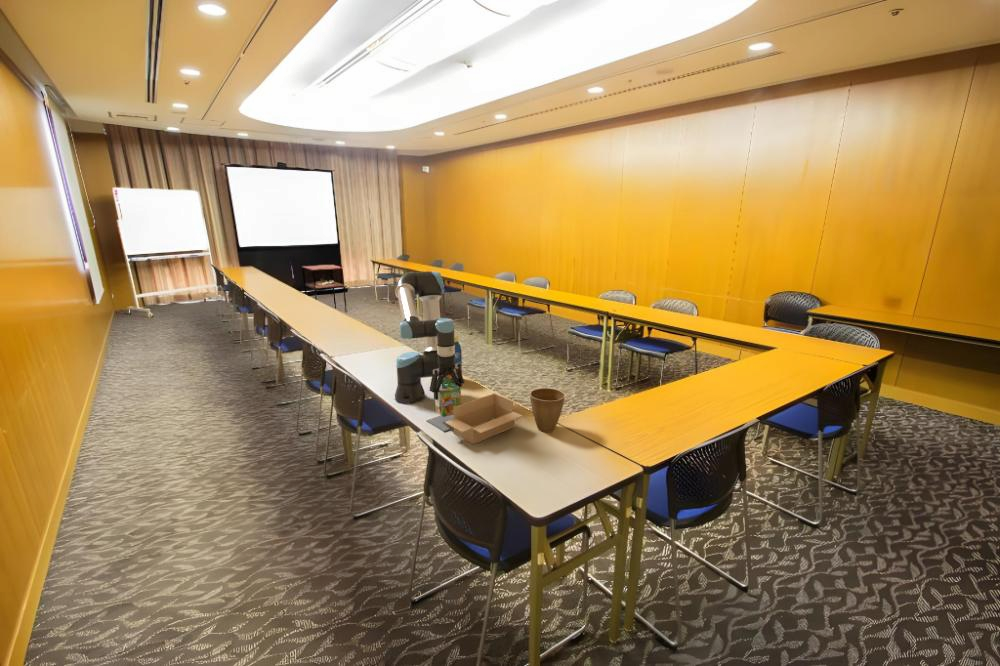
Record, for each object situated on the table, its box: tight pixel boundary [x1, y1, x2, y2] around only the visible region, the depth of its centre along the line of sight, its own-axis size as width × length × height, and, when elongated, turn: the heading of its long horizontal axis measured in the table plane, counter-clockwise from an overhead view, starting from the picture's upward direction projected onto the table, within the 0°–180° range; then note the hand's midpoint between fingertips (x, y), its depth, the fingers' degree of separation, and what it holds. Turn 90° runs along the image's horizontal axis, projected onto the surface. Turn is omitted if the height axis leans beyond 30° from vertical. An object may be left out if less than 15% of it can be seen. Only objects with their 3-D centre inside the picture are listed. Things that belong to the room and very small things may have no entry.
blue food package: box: [443, 336, 463, 384], centre depth 244 cm, size 6×12×25 cm, turn 134°
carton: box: [445, 392, 523, 445], centre depth 184 cm, size 18×28×12 cm, turn 132°
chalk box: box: [434, 379, 462, 417], centre depth 193 cm, size 9×9×15 cm
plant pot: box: [529, 387, 566, 433], centre depth 188 cm, size 15×15×16 cm
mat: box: [426, 414, 454, 433], centre depth 196 cm, size 14×14×1 cm
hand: (447, 402), depth 194 cm, fingers closed on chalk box, 10 cm apart
